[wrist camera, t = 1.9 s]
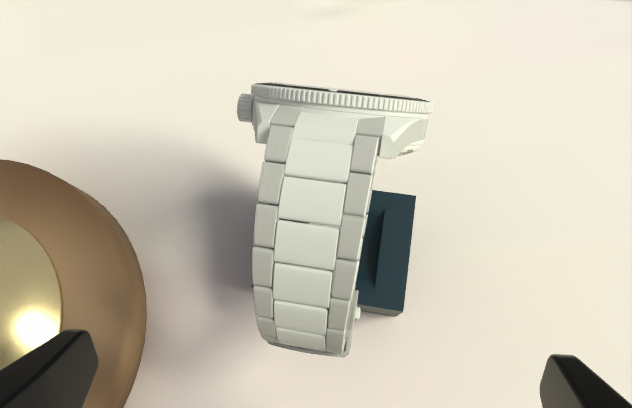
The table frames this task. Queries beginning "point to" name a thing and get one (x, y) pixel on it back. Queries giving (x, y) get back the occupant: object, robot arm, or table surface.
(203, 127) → the table surface
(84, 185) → the table surface
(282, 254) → the watch
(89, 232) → the round dish
